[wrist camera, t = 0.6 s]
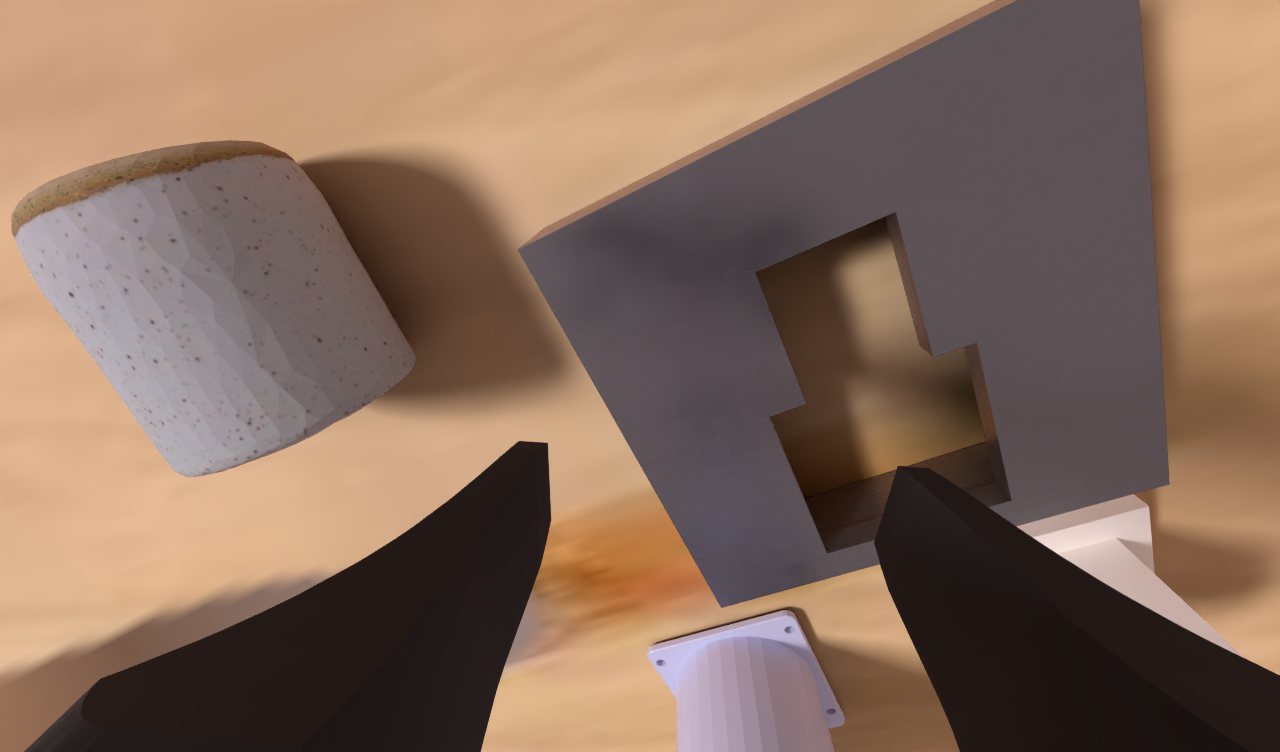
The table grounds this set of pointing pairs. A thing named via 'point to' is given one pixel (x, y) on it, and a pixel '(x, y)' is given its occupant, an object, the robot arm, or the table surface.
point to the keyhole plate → (932, 277)
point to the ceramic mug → (213, 297)
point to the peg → (1119, 556)
